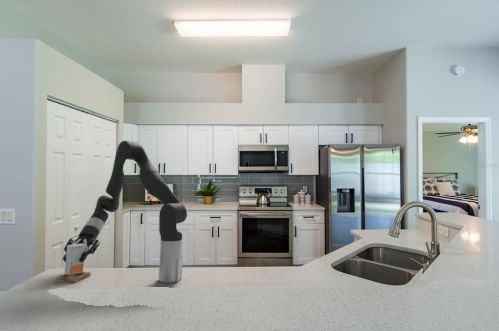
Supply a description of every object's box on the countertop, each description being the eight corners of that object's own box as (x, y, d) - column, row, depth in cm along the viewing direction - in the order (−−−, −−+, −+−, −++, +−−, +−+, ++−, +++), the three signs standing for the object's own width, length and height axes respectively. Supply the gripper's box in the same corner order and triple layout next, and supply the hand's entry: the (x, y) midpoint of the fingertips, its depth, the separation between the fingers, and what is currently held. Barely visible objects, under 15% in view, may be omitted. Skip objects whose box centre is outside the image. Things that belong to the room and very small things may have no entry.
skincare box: (68, 275, 113) (70, 246, 114) (64, 273, 116) (66, 245, 117) (83, 272, 118) (86, 244, 119) (79, 270, 120) (82, 243, 121)
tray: (90, 276, 120) (90, 272, 121) (76, 282, 111) (76, 278, 112) (71, 275, 121) (71, 271, 121) (55, 281, 112) (55, 277, 112)
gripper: (74, 224, 126) (52, 255, 113) (103, 225, 125) (85, 257, 113) (80, 233, 131) (60, 265, 118) (109, 234, 130) (92, 266, 117)
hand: (72, 261), depth 116 cm, fingers closed on skincare box, 6 cm apart
